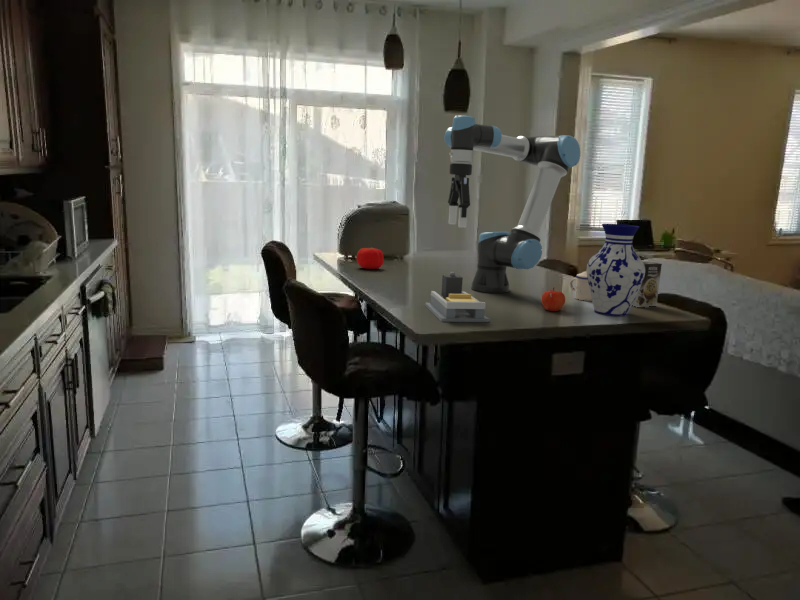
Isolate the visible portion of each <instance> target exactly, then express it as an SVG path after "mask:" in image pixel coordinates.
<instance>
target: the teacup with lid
mask: <svg viewBox="0 0 800 600" xmlns="http://www.w3.org/2000/svg"><path fill="white" fill-rule="evenodd" d="M574 281H575V288H574V286H573V285H574V284H573V282H574ZM569 287H570V290H572V291H573V292H574V299H576V300H578V299H579V301H583V300H584V301H585V302H592V298H591V293H590V288H589V284H588V278H587V269H586V270H585V271H582V272H580V273H577V274H576V276H575V277H574V278H571V279H570V281H569ZM584 301H583V302H584Z"/></svg>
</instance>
